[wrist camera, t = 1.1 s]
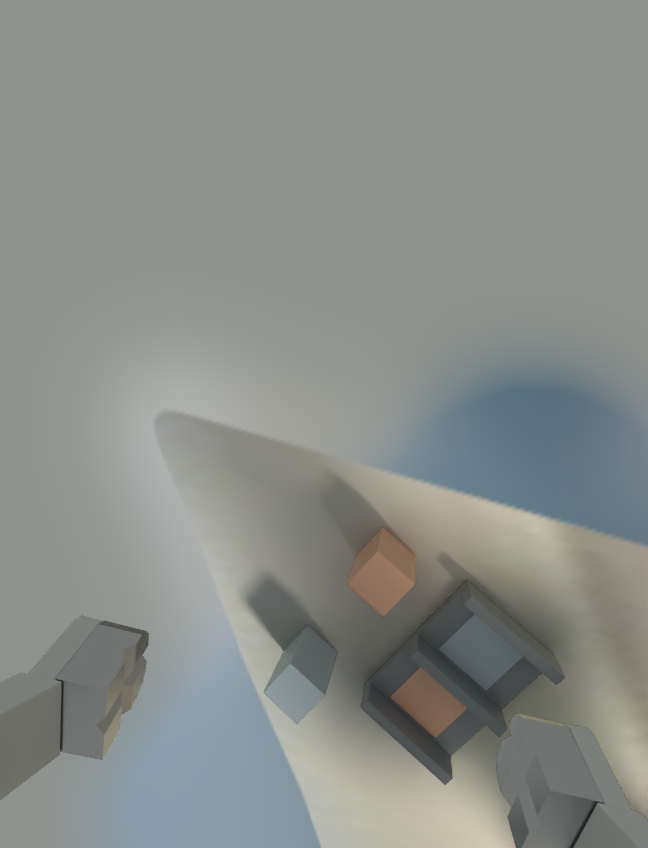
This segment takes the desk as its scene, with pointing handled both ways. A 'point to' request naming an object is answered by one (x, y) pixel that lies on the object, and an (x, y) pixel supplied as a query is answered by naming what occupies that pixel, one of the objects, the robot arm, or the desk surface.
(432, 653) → the slot dock
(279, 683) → the slate-blue plug
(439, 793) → the desk surface
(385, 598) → the terracotta plug
